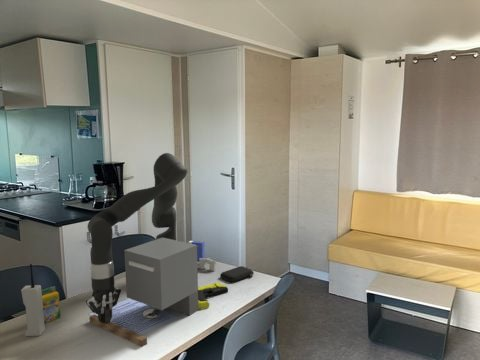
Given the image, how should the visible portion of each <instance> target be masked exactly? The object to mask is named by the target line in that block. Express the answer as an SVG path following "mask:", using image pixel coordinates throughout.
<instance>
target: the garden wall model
mask: <svg viewBox="0 0 480 360" xmlns="http://www.w3.org/2000/svg"><path fill="white" fill-rule="evenodd" d="M199 260H200V262H197V269H202V270H205V271H211V272H215V271H216V270H217V267H216V265H217V264H216V262H217V260H213V259H211V258H210V257H205V259H202V258H199Z"/></svg>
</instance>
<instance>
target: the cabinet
mask: <svg viewBox="0 0 480 360" xmlns="http://www.w3.org/2000/svg"><path fill="white" fill-rule="evenodd" d="M123 251H124V265H125V266H124V267H125V287H126V289H125V290H126V298H127V299H130V300H133V301H136V302H139V303H141V304H143V305H146V306H149V307H152V308H154V309H157V310H159V311H164V310H165V309H170V310H172V311H175V312H179V313H181V314H184V315H186V316H187V315H188V316H191V315H194V314H195V313H196V312H198V311H199V309H198V287H199V280H198V279H199V278H198V273H199V271H198V268H197V266H198V265H197V245H194V244H190V243H188V242H186V241H185V242H184V241H179V240H177V239H176V240H172V239H167V238H163V237H162V238H159V239H156V238H155V239H154V240H151V241H148V242H145V243H142V244H139V245H136V246H133V247H130V248H127V249H124V250H123Z"/></svg>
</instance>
